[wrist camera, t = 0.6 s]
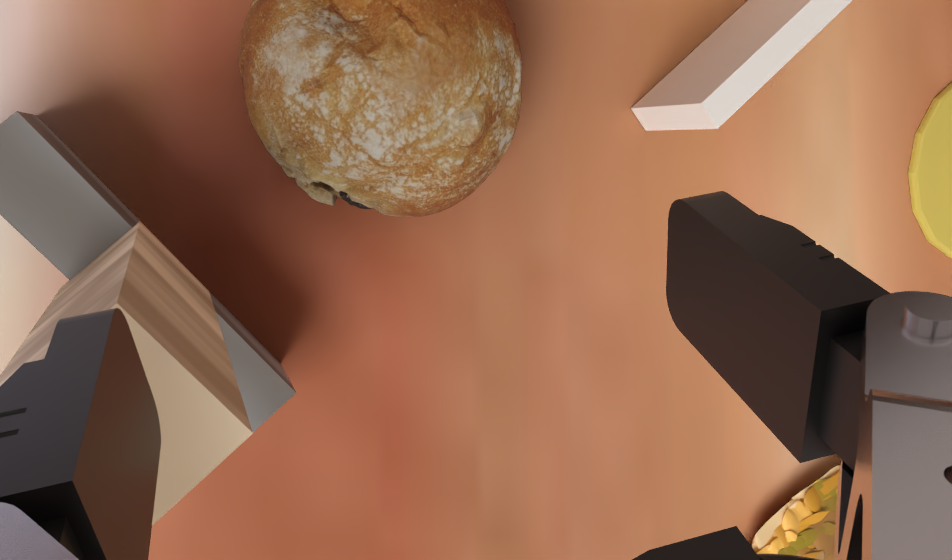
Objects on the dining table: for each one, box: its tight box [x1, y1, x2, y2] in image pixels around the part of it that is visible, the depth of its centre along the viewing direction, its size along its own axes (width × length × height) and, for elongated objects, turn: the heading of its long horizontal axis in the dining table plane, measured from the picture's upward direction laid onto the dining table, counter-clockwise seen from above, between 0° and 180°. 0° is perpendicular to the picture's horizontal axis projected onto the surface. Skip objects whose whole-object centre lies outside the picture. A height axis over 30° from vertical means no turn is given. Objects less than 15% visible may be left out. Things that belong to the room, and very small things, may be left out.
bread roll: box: [238, 0, 522, 217], centre depth 29 cm, size 10×10×8 cm
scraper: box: [0, 111, 296, 525], centre depth 21 cm, size 3×12×18 cm, turn 39°
